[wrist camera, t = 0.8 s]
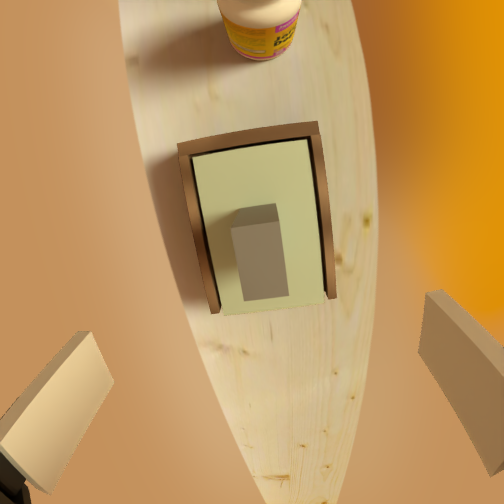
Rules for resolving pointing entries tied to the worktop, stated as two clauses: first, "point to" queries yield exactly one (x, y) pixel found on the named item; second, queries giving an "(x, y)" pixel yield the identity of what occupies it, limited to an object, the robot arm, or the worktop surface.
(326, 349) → the worktop surface
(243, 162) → the lid
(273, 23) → the supplement bottle
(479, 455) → the robot arm
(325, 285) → the box
